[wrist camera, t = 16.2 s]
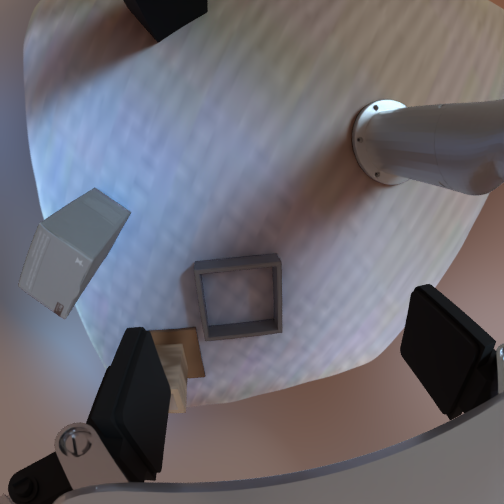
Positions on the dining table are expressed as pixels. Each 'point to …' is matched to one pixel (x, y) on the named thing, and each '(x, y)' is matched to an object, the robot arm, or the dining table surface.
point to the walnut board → (189, 344)
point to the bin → (247, 327)
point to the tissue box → (166, 14)
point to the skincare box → (71, 250)
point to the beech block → (175, 374)
